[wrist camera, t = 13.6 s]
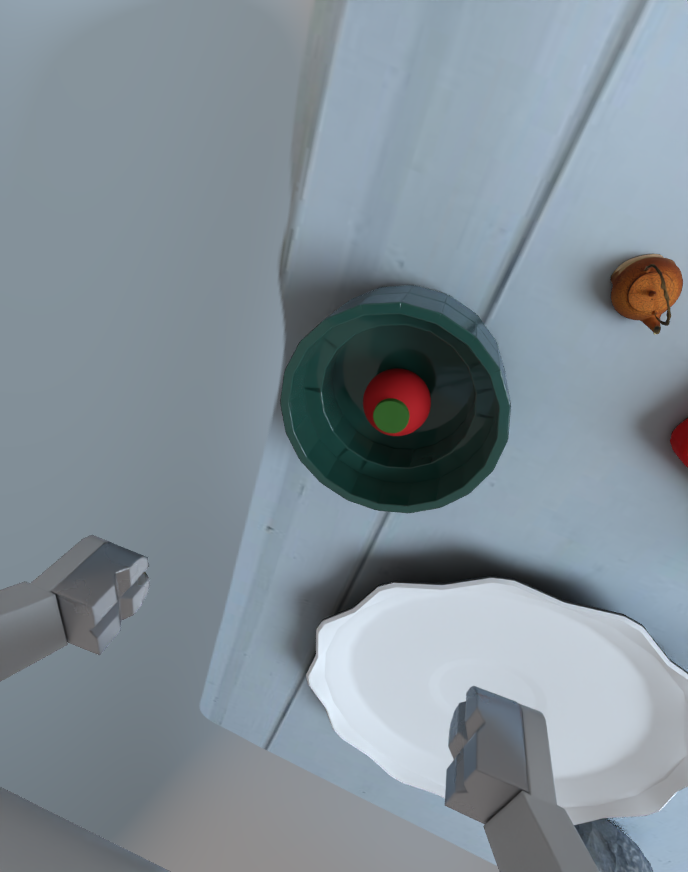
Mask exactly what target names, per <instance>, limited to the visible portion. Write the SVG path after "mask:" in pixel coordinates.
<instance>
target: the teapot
mask: <svg viewBox="0 0 688 872" xmlns="http://www.w3.org/2000/svg"><path fill="white" fill-rule="evenodd" d="M610 281H611V283H612V284H613V288H612V292H611V300H612V304H613V306H614V308H615V310H616V311H617V312H618V313H619V314H620V315H622V316H624V317H626V318H629V319H633V320H640V321H642V322H643V323H644V324H645V325H647V326H648V327H649V328H650V329H651V330H652V331H653V333H654V334H659V333H660V329H661V327H660V323H661V324H662V325H669V322H670V321H669V320H670V318H671V312H670V307H671V306H672V305H673V304H674V303H675V302H676V300H677V299H678V297H679V296H680V293H681V291H682V286H683V279H682V274H681V271H680V269H679V268H678V267H677V266H676V264H675V262H674V261H673V260H670V259H667V258H664V257H663V256H662V255H660V254H648V255H643V256H638V257H635V258H632V259H629V260H627V261H625V262H624V263H622V264H621V265H620V266H619V267H618V268H617V269H616V270H615V271H614V273H613V274H612V275H611V279H610ZM666 310H667V320H666V322H663V321H661V320H660V316H661V314H662V313H664V312H665V311H666Z"/></svg>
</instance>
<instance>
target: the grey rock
mask: <svg viewBox="0 0 688 872" xmlns="http://www.w3.org/2000/svg"><path fill="white" fill-rule="evenodd" d="M574 826H575V828H576V830H577V832H578V834H579V835H580V837H581V839H582V841H583V843H584V844H585V846H586V848H587V850H588V852H589V853H590V855H591V857H592V859H593V861H594V862H595V864H596V866H597V868H598V870H599V871H600V872H653V870H652V868H651V865H650V863H649V861H648V860H647V859H646V857H645V856H644V854H643V853H642V851H641V850H640V848H639V847H638V846H637V845H636V844H635V843H634V842H633V841H632V840H631V839H630V838H629V837H628V836H626V835H625V834H624V833H623V832H621V831H619V830H618V829H617V828H616V827H615V826H614V825H612V824H611V823H610V822H608V821H607V820H605V819H603V818H602V819H598V820H594V821H590V822H585V823H581V824H577V825H574Z"/></svg>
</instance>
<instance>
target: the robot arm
mask: <svg viewBox="0 0 688 872" xmlns="http://www.w3.org/2000/svg"><path fill="white" fill-rule="evenodd" d="M148 567H149V563H148V557H145V556H143V555H141V554H138V553H136V552H133V551H131V550H128V549H125V548H123V547H121V546H118V545H115V544H113V543H111V542H109V541H107V540H104V539H102V538H99V537H96V536H94V535H90V536H88V537H85V538H83V539H82V540H81V541H80V542H78V543H77V544H76V545H75V546H74V547H73V548H71V549H70V550H69V551H68V552H67V553H66V554H64V555H63V556H62V557H61V558H60V559H58V561H56V562H55V563H54V564H53V565H51V566H50V567H49V568H48V569H47V570H45V571H44V572H43V573H42V574H41V575H40V576H38V578H36V579H35V580H34V581H33V582H31V583H28V582H22V583H19V584H16V585H13V586H10V587H7V588H5V589H2V590H0V681H2V680H4V679H6V678H8V677H10V676H11V675H13V674H15V673H17V672H18V671H20V670H22V669H24V668H26V667H28V666H30V665H31V664H33V663H35V662H37V661H39V660H41V659H42V658H44V657H46V656H48V655H50V654H52V653H53V652H55V651H57V650H59V649H61V648H63V647H64V646H66V645H67V642H68V643H71V644H73V645H75V646H78V647H80V648H83V649H85V650H88V651H90V652H93V653H96V654H98V655H100V654H101V653H102V652H103V651H104V650H105V649H106V647H107V646H108V645H109V644H110V643H111V641H112V640H113V639H114V638H115V637H116V635H117V634H118V633H119V632H120V630H121V620H124V619H126V618H128V617H130V616H132V615H134V614H135V613H136V611H137V610H138V609H139V608H140V606H141V605H142V603H143V601H144V600H145V598H146V596H147V594H148V590H149V586H150V579H149V577H148V575H147V574H146V573H145V570H146V569H147V568H148ZM448 747H449V750H450V752H451V754H452V756H453V759H454V760H453V761H452V763H451V764H450V765H449V767H448V768H447V771H446V790H445V806H447V807H449V808H451V809H453V810H456V811H458V812H460V813H462V814H464V815H466V816H468V817H470V818H473V819H475V820H477V821H479V822H481V823H483V824H485V825H484V826H483V827H484V829H485V832H486V835H487V838H488V841H489V843H490V846H491V849H492V852H493V855H494V857H495V860H496V863H497V866H498V869H499V872H600V871H599V870H598V868H597V866H596V864H595V862H594V861H593V859H592V857H591V855H590V853H589V852H588V850H587V848H586V846H585V844H584V843H583V841H582V839H581V837H580V835H579V834H578V832H577V830H576V828H575V826H574V825H573V823H572V821H571V819H570V817H569V816H568V814H567V812H566V810H565V809H564V808H562V807H560V806H558V805H557V800H556V792H555V785H554V777H553V770H552V762H551V755H550V747H549V739H548V732H547V724H546V719H545V717H544V715H543V713H541V712H540V711H538V710H535V709H533V708H530V707H527V706H525V705H522V704H519V703H517V702H516V701H513V700H511V699H508V698H505V697H503V696H500V695H497V694H495V693H492V692H489V691H487V690H484V689H481V688H479V687H476V686H472V687H470V688H469V690H468V691H467V692H466V701H465V702H461V703H459V704H458V706H457V707H456V709H455V711H454V713H453V717H452V720H451V723H450V730H449V739H448ZM0 872H171V871H169V870H167V869H164V868H163V867H160V866H158V865H156V864H154V863H152V862H150V861H148V860H146V859H144V858H142V857H140V856H138V855H136V854H134V853H132V852H130V851H128V850H126V849H124V848H122V847H120V846H118V845H116V844H114V843H112V842H110V841H108V840H106V839H104V838H102V837H100V836H98V835H96V834H94V833H92V832H90V831H88V830H86V829H84V828H82V827H80V826H78V825H76V824H74V823H72V822H70V821H68V820H66V819H64V818H62V817H60V816H58V815H56V814H54V813H52V812H50V811H48V810H46V809H44V808H42V807H40V806H38V805H36V804H34V803H32V802H30V801H28V800H26V799H24V798H22V797H20V796H18V795H16V794H14V793H12V792H10V791H8V790H6V789H4V788H2V787H0Z"/></svg>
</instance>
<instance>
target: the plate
mask: <svg viewBox="0 0 688 872" xmlns="http://www.w3.org/2000/svg"><path fill="white" fill-rule="evenodd" d="M306 676H307V682H308V685H309V686H310V687H311V689H312V690H313V692H314V693H315V694H316V696H317V697H318V698H319V700H320V701H321V703H322V704H323V705H324V707H325V709H326V712H327V714H328V717H329V720H330V723H331V725H332V728H333V730H334V731H335V732H336V733H337V734H338V735H339V736H340V737H341V738H342V739H343V740H345V741H346V742H348V743H349V744H351V745H352V746H354V747H355V748H357V749H358V750H360V751H361V752H363V753H364V754H366V755H367V756H369V757H370V758H371V759H372V760H374V761H375V762H376V763H377V764H378V765H379V766H380V767H381V768H382V769H383V770H384V771H385V772H387V773H388V774H389V775H390V776H391V777H393V778H395V779H396V780H398V781H400V782H402V783H404V784H407V785H410V786H413V787H416V788H419V789H422V790H425V791H428V792H431V793H434V794H437V795H439V796H441V797H443V798H445V790H446V771H447V768H448V767H449V765H450V764H451V763H452V761H453V760H454V759H453V756H452V754H451V752H450V750H449V747H448V739H449V730H450V723H451V720H452V717H453V713H454V711H455V709H456V707H457V706H458V704H459V703H461V702H465V701H466V692H467V691H468V690H469V688H470V687H472V686H476V687H479V688H481V689H484V690H487V691H489V692H492V693H495V694H497V695H500V696H503V697H505V698H508V699H511V700H513V701H516V702H517V703H519V704H522V705H525V706H527V707H530V708H533V709H535V710H538V711H540V712H541V713H543V715H544V717H545V719H546V724H547V732H548V739H549V747H550V755H551V762H552V770H553V777H554V785H555V792H556V800H557V805H558V806H560V807H562V808H564V809H565V810H566V812H567V814H568V816H569V817H570V819H571V821H572V823H573V825H577V824H581V823H585V822H590V821H594V820H598V819H602V818H616V817H636V816H647V815H650V814H653V813H655V812H658V811H661V810H662V808H663V807H664V806H665V805H666V804H667V803H668V802H669V801H670V800H671V799H672V798H673V796H674V795H675V794H676V793H677V792H678V791H679V790H681V789H683V788H685V787H687V786H688V672H687V671H685V670H684V669H682V668H681V667H680V666H678V665H677V664H675V663H674V662H672V661H671V660H670V659H669V658H668V657H667V656H666V655H665V653H664V652H663V651H662V650H661V648H660V647H659V646H658V644H657V643H656V642H655V641H654V639H653V638H652V637H651V636H650V634H649V633H648V632H647V630H646V629H645V628H644V627H643V625H642V624H640V623H638V622H636V621H635V620H633V619H631V618H629V617H627V616H626V615H624V614H621V613H616V612H612V611H608V610H603V609H599V608H594V607H590V606H586V605H581V604H577V603H573V602H568V601H564V600H562V599H560V598H557V597H555V596H553V595H550V594H548V593H546V592H543V591H541V590H539V589H537V588H534V587H532V586H530V585H527V584H525V583H523V582H521V581H518V580H516V579H513V578H505V577H498V576H487V577H481V578H474V579H468V580H461V581H455V582H448V583H426V582H406V581H392V582H388V583H385V584H381V585H378V586H377V587H376V588H375V589H374V590H373V591H371V592H370V593H369V594H368V595H367V596H366V597H365V598H363V599H362V600H361V601H360V602H359V603H358V604H356V605H355V606H354V607H352V608H350V609H347V610H345V611H342V612H340V613H337V614H335V615H333V616H330V617H328V618H325V619H323V620H322V622H321V623H320V624H319V626H318V627H317V629H316V656H315V658H314V660H313V662H312V664H311V666H310V668H309V670H308V672H307V674H306Z"/></svg>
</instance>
